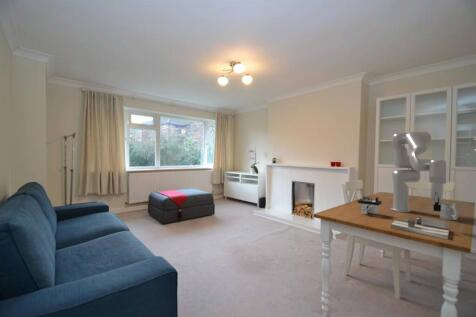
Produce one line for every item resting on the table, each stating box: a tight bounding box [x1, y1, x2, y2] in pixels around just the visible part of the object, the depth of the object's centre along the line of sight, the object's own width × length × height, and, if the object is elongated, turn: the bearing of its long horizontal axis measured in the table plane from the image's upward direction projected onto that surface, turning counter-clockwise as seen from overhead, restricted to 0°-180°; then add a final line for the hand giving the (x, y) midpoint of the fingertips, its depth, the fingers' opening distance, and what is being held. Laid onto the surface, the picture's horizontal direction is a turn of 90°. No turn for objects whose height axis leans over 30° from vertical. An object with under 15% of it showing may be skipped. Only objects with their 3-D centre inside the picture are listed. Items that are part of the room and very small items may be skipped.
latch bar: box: [416, 216, 447, 229], centre depth 132 cm, size 13×3×4 cm, turn 44°
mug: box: [438, 202, 459, 221], centre depth 151 cm, size 8×12×12 cm, turn 176°
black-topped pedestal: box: [357, 195, 382, 215], centre depth 165 cm, size 28×26×13 cm
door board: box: [390, 217, 450, 240], centre depth 132 cm, size 18×25×6 cm
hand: (437, 210), depth 134 cm, fingers closed
